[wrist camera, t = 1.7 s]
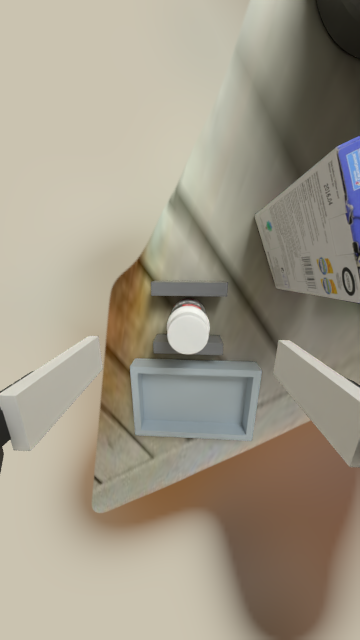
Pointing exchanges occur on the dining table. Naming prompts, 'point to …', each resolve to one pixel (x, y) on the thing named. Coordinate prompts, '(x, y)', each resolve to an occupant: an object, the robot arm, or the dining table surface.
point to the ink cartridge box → (317, 228)
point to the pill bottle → (188, 326)
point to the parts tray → (195, 398)
